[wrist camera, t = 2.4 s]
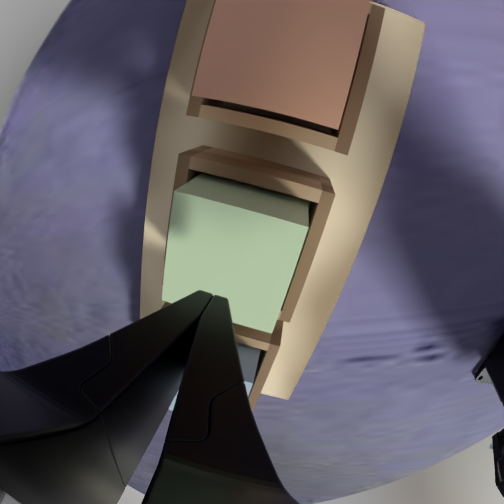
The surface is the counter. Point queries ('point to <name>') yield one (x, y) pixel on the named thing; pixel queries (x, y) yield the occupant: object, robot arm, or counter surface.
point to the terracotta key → (283, 55)
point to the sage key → (234, 246)
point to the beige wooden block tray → (284, 176)
